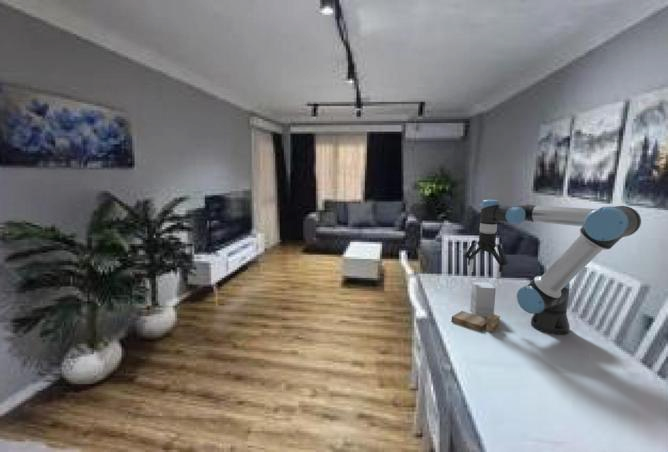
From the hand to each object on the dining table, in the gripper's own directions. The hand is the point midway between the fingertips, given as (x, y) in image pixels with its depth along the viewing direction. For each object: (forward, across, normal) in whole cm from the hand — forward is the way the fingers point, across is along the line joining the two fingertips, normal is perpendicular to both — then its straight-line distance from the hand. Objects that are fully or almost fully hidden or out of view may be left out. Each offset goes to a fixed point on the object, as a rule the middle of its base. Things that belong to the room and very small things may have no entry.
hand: (484, 275), depth 178 cm
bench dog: (+20, -12, +14) cm, 27 cm away
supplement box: (+20, 0, 0) cm, 20 cm away
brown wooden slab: (+20, -2, +15) cm, 25 cm away
